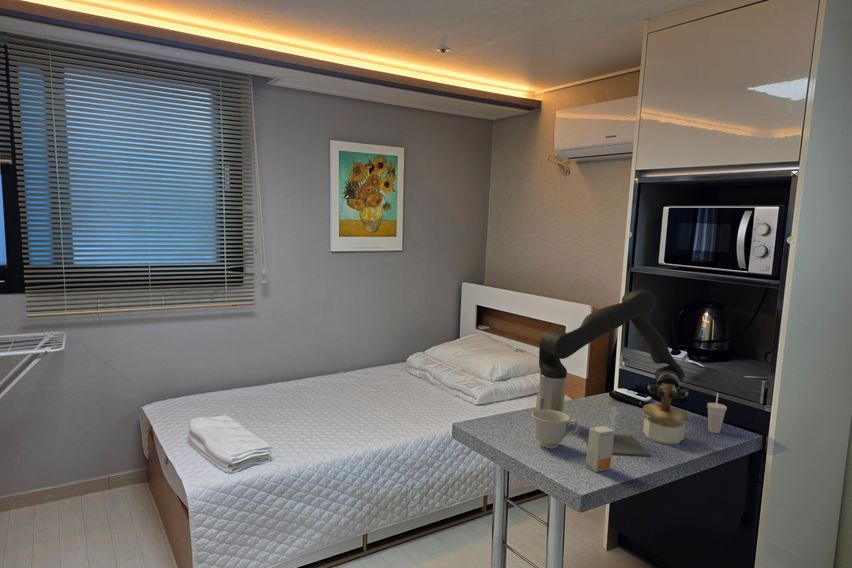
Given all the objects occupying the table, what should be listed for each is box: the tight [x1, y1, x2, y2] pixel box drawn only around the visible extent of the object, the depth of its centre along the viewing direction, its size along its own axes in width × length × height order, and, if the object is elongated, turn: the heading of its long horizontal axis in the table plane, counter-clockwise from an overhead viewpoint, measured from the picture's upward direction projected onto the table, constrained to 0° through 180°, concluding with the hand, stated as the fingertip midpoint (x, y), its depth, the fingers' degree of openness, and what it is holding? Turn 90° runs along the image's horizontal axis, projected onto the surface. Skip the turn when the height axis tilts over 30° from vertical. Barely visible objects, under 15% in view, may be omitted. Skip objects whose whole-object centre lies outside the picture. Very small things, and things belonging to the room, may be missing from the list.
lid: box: [642, 384, 688, 422], centre depth 190 cm, size 14×14×10 cm
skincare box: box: [585, 425, 615, 473], centre depth 163 cm, size 6×4×12 cm
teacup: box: [531, 409, 580, 449], centre depth 178 cm, size 12×15×10 cm
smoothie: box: [706, 392, 728, 434], centre depth 201 cm, size 6×6×14 cm
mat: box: [579, 432, 652, 457], centre depth 183 cm, size 18×16×1 cm
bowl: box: [642, 415, 686, 446], centre depth 191 cm, size 12×12×6 cm
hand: (666, 396), depth 187 cm, fingers closed on lid, 3 cm apart
